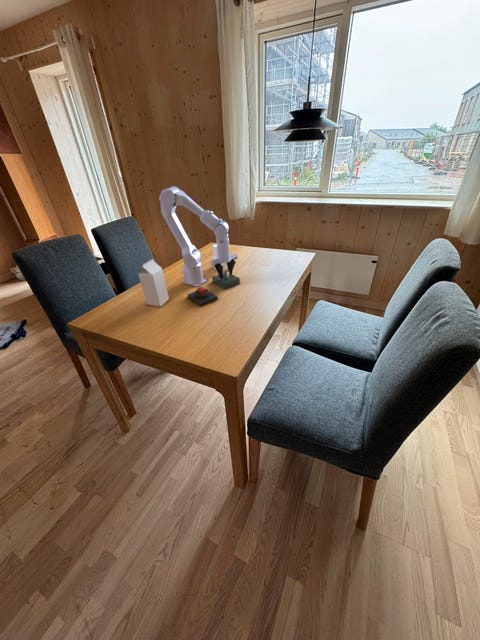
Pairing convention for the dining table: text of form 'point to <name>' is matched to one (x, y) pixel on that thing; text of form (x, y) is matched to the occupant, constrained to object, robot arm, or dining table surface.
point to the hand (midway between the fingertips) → (225, 276)
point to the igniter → (202, 297)
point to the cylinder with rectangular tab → (215, 256)
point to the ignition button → (201, 290)
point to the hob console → (226, 281)
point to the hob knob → (226, 274)
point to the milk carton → (153, 284)
